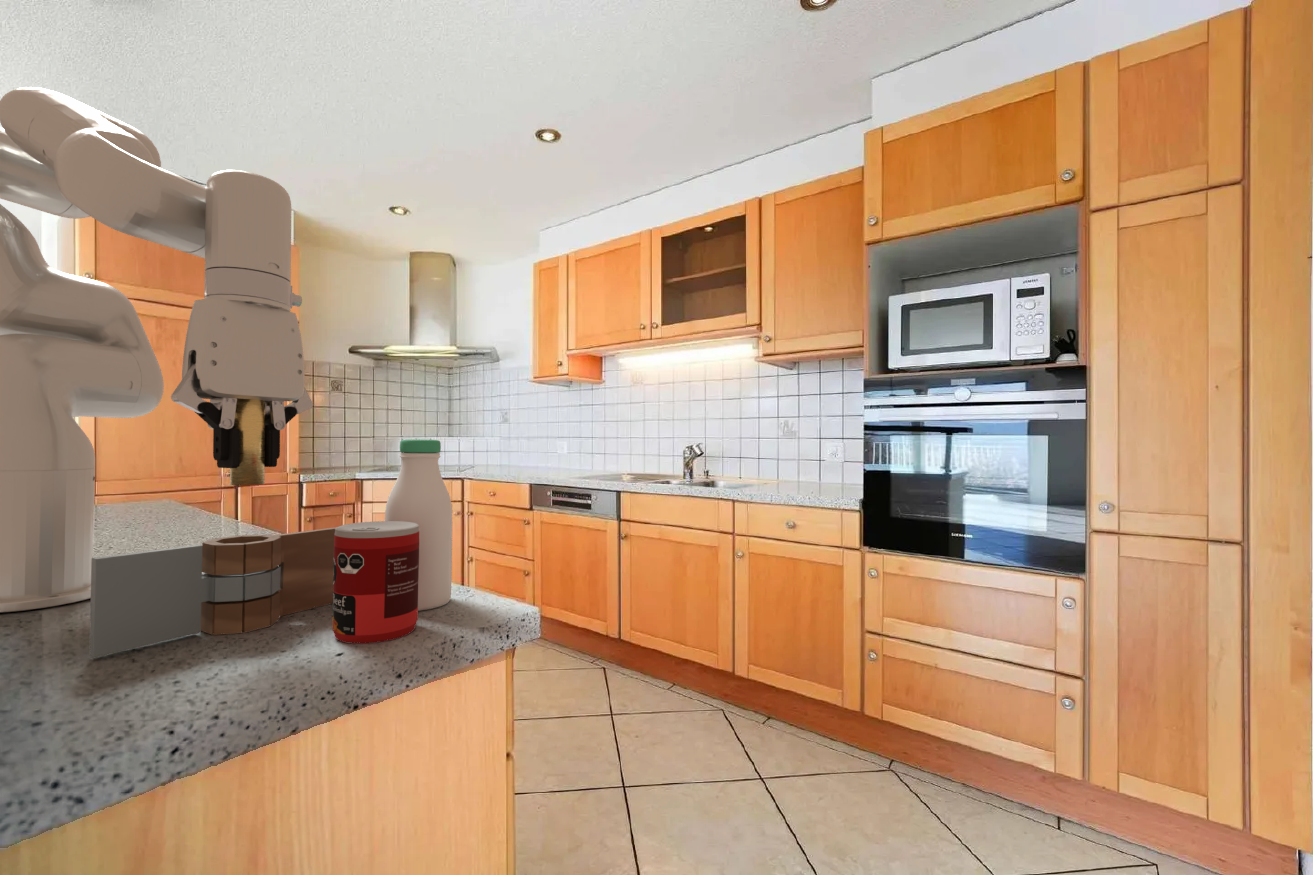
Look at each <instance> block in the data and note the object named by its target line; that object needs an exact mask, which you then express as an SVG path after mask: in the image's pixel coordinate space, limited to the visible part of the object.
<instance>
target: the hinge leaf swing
mask: <svg viewBox="0 0 1313 875" xmlns="http://www.w3.org/2000/svg"><path fill="white" fill-rule="evenodd" d="M280 574H281V567H280V566H277V567H275V568H273V569H271V570H265V571H259V572H253V573H247V574H245V573H244V574H233V575H211V574H207V573H203V572H202V544H201V545H200V544H191V545H185V546H176V547H169V548H167V547H166V548H159V549H151V550H144V551H135V552H128V553H121V554H120V553H118V554H113V555H104V556H97V557H96V556H95V557H93V558H92V562H91V598H90V610H89V611H90V612H89V615H90V616H89V617H90V619H89V653H88V656H89V657H91V658H93V659H95V658H98V657H103V656H107V655H112V654H116V653H120V652H124V651H129V650H133V649H138V648H141V647H144V646H151V645H153V644H157V643H158V644H159V643H161V642H166V641H170V640H173V639H174V640H175V639H178V638H182V637H188V636H192V635H195V634H200V633H201V602H206V601H211V602H225V601H243V600H249V599H254V598H258V597H263V596H268V595H271V594H273V593H275V592H276V591H278V590H279V589H280Z"/></svg>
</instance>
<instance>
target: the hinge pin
mask: <svg viewBox="0 0 1313 875" xmlns="http://www.w3.org/2000/svg"><path fill="white" fill-rule="evenodd" d="M234 424H235V429H238V431H240V465H239V467H237V468H229V485H230V486H252V485H253V486H255V485H257V486H258V485H265V482H266V481H265V480H266V479H265V475H266V474H265V473H266V469H265V468H266V467H265V400H254V399H238V398H237V403H236V411H235V420H234Z"/></svg>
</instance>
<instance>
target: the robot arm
mask: <svg viewBox="0 0 1313 875" xmlns="http://www.w3.org/2000/svg"><path fill="white" fill-rule="evenodd" d="M0 126H1V127H0V199H1V200H4V201H7V202H11V203H15V204H17V205H21V206H23V207H28V208H31V209H33V210H37V211H40V212H43V213H47V214H50V215H53V216H58V217H61V218H67V219H76V220H77V219H78V220H79V219H86V218H93V219H94V220H96V221H97V222H99V223H100V224H102V225H104V226H106V227H108V228H111V229H113V230H115V231H117V232H120V233H122V234H125V235H127V236H131V237H135V238H137V239H142V240H144V241H147V242H150V243H155V244H158V245H160V246H164V247H167V248H171V249H173V250H176V251H180V252H182V253H185V254H189V255H192V256H195V257H198V258H202V259H204V298H201V299H197V300H194V301H193V303H192V304H193V305H192V309H191V311H190V315H189V320H188V324H187V325H188V326H187V329H186V330H187V331H186V334H185V343H184V349H183V358H182V359H183V360H182V368H181V381H180V382H179V383H178V385H177V387H176V388H175V389H174V391H173V392H172V393H171V396H170V399H171V401H172V402H174V403H176V404H178V405H180V406H182V407H184V408H186V409H188V410H190V411H193V412H194V413H195V414H196V415H197V416H199V417H200V418H201V419H202V420H203V421H204V422H205V423H206V424H207V426H208V427H209V429H211V430H213V432H212V435H213V437H212V438H213V439H212V442H213V445H212V446H213V447H212V455H213V459H214V461H216V466H217V468H218V469H220V468H221V469H230V468H237V467H239V465H240V431H238V429H235V424H234V420H235V411H236V403H237V398H238V399H254V400H265V468H276V467H277V465H278V459H279V458H280V456H281V431H282V430H284V429H285V428H286V425H287V424H288V423H289V422H290V421H291V420H292V419H293V418H295V417H296V416H297V415H299V414H302V413H304V412H307V411H308V410H310V409H312V408H313V407H314V404H313V401H312V398H311V397H310V395H309V393H308V391H307V389H306V388H305V378H306V377H305V376H306V375H305V359H304V348H303V342H302V334H301V330H300V325H299V321H298V316H297V314H296V312H292V311H291V309H292V308H293V307H300V306H302V304H303V298H302V296H301V295H300V294H296V293H294V292H293V285H292V284H291V283H292V282H291V280H292V276H291V274H292V200H291V197H290V194H289V193H288V191H287V190H286V189H285V188H284V187H283V186H282V185H281V184H280V183H278V182H277V181H275V180H273V179H271V178H269V177H267V176H263V175H260V174H257V173H254V172H249V171H244V170H236V169H226V170H220V171H219V170H218V171H216V172H214V173H212V174H211V175H210V176H209V177H208V179H207V180H206V183H205V186H203V185H201V184H199V183H196V182H194V181H192V180H190V179H187V178H185V177H183V176H180V175H178V174H176V173H174V172H172V171H169V170H166V169H164V168H162V161H161V157H160V153H159V150H158V148H157V147H156V146H155V144H154V142H153V141H152V140H151V139H150V137H148V136H147V135H146V134H144V133H143V132H142V131H140V130H139V129H137V128H135V127H134V126H132V125H130V124H127V123H125V122H123V121H121V120H119V119H117V118H115V117H113V116H110V115H108V114H106V113H104V112H102V111H100V110H97V109H95V108H94V107H91V106H89V105H87V104H85V103H83V102H82V101H79V100H76V99H75V98H72V97H70V96H68V95H66V94H63V93H61V92H58V91H55V90H52V89H51V90H50V89H48V88H47V89H46V88H42V87H34V86H33V87H32V86H29V87H27V86H25V87H19V88H15V89H13V90H10V91H8V92H7V93H5V94H4V95H3V96H2V97H1V99H0ZM31 232H32V231H30V230H29V228H27V226H26V225H25V224H24V223H23V222H22V221H21V220H20V219H19V218H18V217H17V216H16V215H14V213H12V212H11V211H10V210H9V209H7V207H5V206H4V205H2V204H1V203H0V613H11V612H23V611H31V610H37V609H44V608H51V607H57V606H62V605H66V604H73V603H77V602H81V601H85V600H89V599H91V562H92V558H94V532H95V530H94V529H95V494H96V492H95V490H96V489H95V486H96V484H95V483H96V452H95V449H94V447H93V446H94V445H93V444H92V442H91V440H90V438H89V437H88V435H87V434H86V433H85V432H84V430H83V429H82V428H81V426H80V424H78V423H77V422H76V420H75V419H74V418H77V417H78V418H79V417H88V418H90V417H91V418H115V419H127V418H128V419H129V418H138V417H142V416H145V415H148V414H150V413H151V412H153V411H154V410H155V409H156V408H157V407H158V406H159V404H160V402H161V401H162V398H163V395H164V386H165V385H164V376H163V372H162V369H161V367H160V363H159V361H158V359H157V357H156V356H157V355H156V354H155V350H154V349H153V347H152V345H151V343H150V340H149V338H148V335H147V334H146V330H145V329H144V326H143V324H142V322H141V319H140V318H139V315H138V313H137V311H136V308H135V307H134V304H133V303H132V302H131V300H130V299H129V298H128V297H127V296H126V295H125V294H124V293H123V292H122V291H121V290H120V289H118V288H116V287H114V286H112V285H110V284H108V283H106V282H102V281H98V280H95V279H91V278H88V277H83V276H79V275H75V274H71V273H70V274H69V273H67V272H63V271H61V270H58V269H55V268H53V267H52V266H50V265H49V264H48V262H47V261H46V260H45V257H44V255H43V254H42V252H41V249H40V247H39V245H38V241H37V240H36V238H35V236H34V235H33V234H32V233H31ZM206 400H207V401H206ZM208 400H210V401H208ZM285 402H291V403H289V404H287V405H285Z"/></svg>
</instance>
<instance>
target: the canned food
mask: <svg viewBox="0 0 1313 875" xmlns="http://www.w3.org/2000/svg"><path fill="white" fill-rule="evenodd" d="M336 527H337V528H335V534H334V564H333V604H332V631H333V632H332V633H333V635H334V637H335V639H337V640H338V641H340V642H343V643H346V644H347V643H349V644H375V643H383V642H389V641H393V640H396V639H399V638H402V637H405V636H407V635H409V634H410V633H412V632H413V631H414V630H415V629H416V626H417V622H418V618H419V617H418V612H419V611H418V578H419V525H418V524H416V523H412V522H403V521H385V520H383V521H381V520H379V521H376V520H375V521H364V522H363V521H362V522H353V523H347V524H342V525H339V526H336Z"/></svg>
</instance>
